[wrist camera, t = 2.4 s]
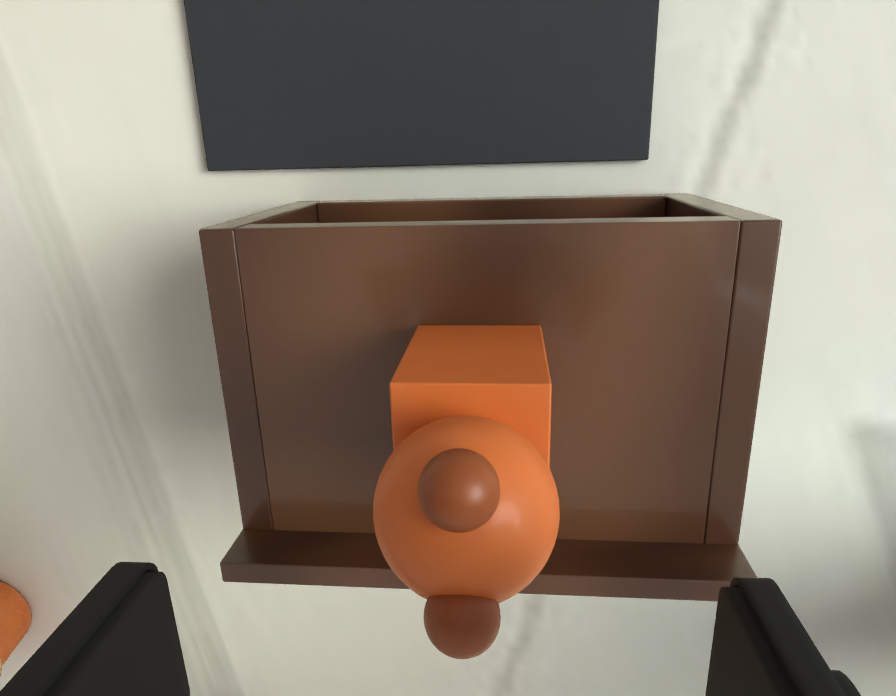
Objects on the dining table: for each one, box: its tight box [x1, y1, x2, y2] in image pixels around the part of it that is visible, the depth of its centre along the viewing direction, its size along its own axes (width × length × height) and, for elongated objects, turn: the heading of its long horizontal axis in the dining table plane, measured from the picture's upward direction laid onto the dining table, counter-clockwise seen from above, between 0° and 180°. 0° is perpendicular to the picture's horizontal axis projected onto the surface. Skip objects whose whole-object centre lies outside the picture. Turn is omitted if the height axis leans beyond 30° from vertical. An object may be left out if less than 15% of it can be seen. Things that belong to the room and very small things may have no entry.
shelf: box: [199, 194, 782, 601], centre depth 25 cm, size 18×12×12 cm, turn 92°
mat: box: [184, 0, 659, 171], centre depth 27 cm, size 20×11×1 cm, turn 92°
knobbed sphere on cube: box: [373, 325, 560, 659], centre depth 16 cm, size 4×5×10 cm
